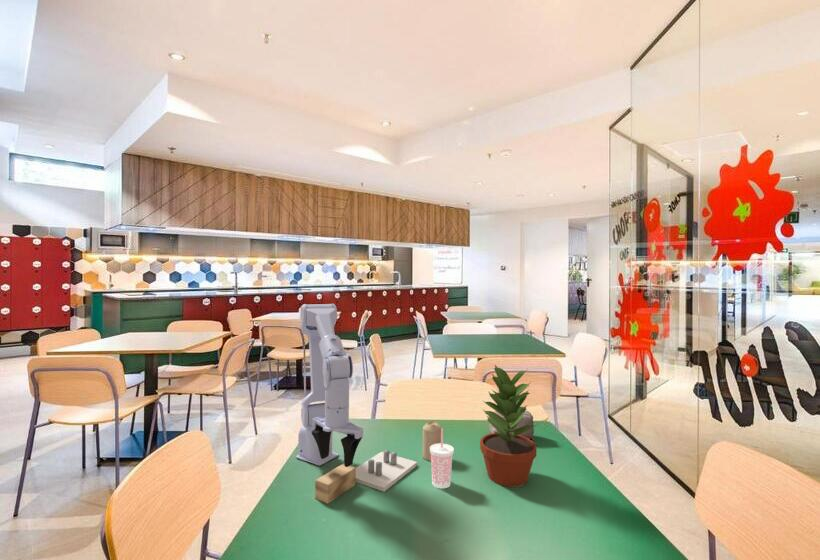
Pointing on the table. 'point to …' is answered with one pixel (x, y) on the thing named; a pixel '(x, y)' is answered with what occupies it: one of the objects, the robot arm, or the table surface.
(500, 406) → the potted plant
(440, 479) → the beverage cup
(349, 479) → the tan rectangular block
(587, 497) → the table surface
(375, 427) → the table surface
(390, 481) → the peg base
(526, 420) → the food item
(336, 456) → the robot arm
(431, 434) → the candle
